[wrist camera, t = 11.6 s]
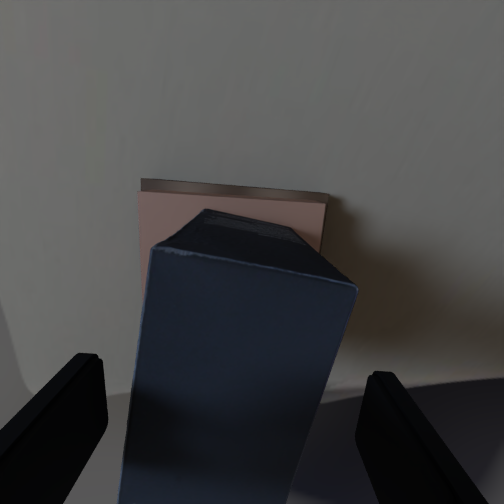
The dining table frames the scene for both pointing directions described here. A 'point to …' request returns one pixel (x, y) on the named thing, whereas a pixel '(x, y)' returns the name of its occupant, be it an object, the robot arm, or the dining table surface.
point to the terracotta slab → (191, 203)
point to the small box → (229, 362)
